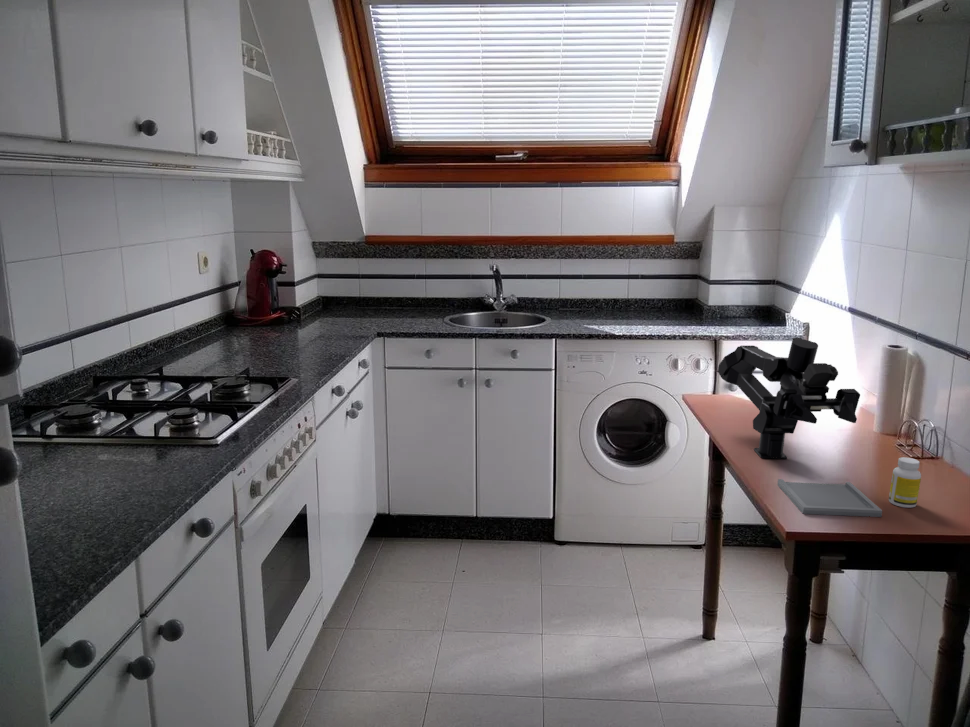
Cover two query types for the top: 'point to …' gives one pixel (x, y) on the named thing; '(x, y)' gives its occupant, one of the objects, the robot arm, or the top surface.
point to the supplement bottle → (905, 483)
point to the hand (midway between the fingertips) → (835, 421)
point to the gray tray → (829, 499)
